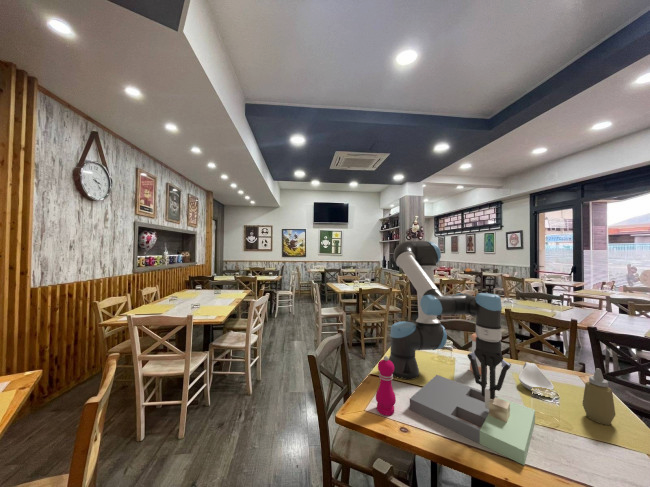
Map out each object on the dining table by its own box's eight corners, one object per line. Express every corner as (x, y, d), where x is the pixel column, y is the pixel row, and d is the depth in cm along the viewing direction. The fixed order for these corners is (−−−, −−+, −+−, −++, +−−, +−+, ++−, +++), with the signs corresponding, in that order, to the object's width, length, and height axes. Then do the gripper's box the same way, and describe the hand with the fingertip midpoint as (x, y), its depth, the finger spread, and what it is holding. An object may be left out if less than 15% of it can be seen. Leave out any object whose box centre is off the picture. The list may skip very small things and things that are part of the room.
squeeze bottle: (577, 415, 93) (577, 366, 93) (588, 410, 96) (588, 362, 96) (609, 430, 85) (609, 376, 86) (620, 423, 88) (619, 372, 89)
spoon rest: (557, 401, 102) (557, 383, 102) (520, 392, 108) (520, 375, 108) (543, 376, 122) (543, 361, 122) (513, 369, 128) (513, 355, 128)
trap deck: (409, 409, 95) (409, 398, 95) (436, 383, 113) (436, 374, 113) (524, 465, 71) (524, 451, 71) (535, 421, 89) (535, 409, 89)
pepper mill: (382, 401, 99) (383, 350, 99) (399, 410, 94) (399, 356, 94) (371, 410, 94) (372, 355, 94) (388, 419, 89) (389, 362, 89)
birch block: (488, 415, 86) (489, 402, 86) (492, 408, 89) (492, 396, 89) (506, 422, 82) (506, 409, 82) (509, 415, 86) (509, 402, 86)
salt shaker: (467, 367, 129) (467, 329, 130) (482, 368, 128) (483, 330, 129) (473, 374, 122) (474, 334, 122) (490, 375, 121) (490, 335, 121)
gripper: (464, 336, 90) (464, 403, 90) (508, 346, 81) (509, 421, 81) (470, 331, 96) (470, 394, 95) (513, 340, 86) (513, 410, 86)
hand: (488, 406), depth 88 cm, fingers closed
